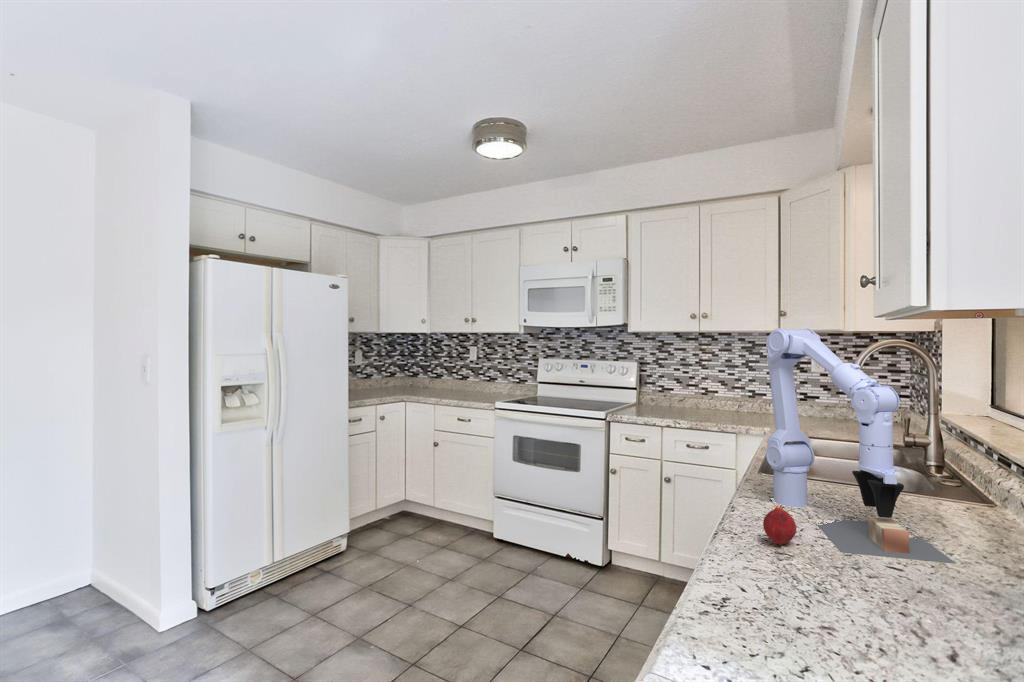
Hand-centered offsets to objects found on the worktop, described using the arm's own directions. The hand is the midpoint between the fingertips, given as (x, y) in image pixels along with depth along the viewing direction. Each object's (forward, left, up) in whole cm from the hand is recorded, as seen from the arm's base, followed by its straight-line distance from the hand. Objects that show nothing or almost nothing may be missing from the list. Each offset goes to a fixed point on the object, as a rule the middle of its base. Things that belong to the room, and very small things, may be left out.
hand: (877, 511), depth 105 cm
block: (+1, 0, -3) cm, 3 cm away
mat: (+1, -1, -5) cm, 6 cm away
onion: (+10, -20, -6) cm, 23 cm away
